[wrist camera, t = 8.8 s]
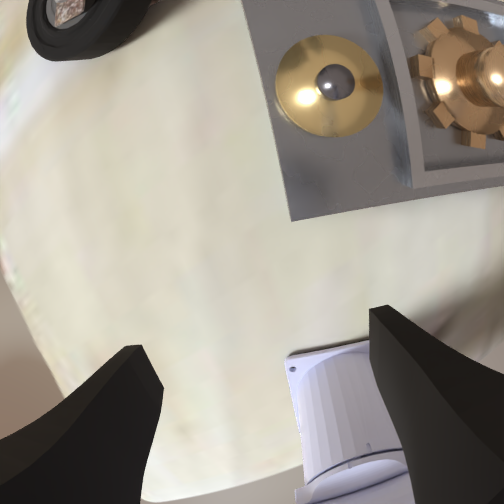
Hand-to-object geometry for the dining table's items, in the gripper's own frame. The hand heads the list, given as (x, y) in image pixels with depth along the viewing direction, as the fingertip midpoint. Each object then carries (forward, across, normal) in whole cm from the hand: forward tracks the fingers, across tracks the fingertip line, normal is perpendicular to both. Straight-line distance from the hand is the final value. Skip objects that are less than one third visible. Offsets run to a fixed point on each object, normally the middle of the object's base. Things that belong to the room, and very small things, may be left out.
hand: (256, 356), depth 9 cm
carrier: (+9, -11, -8) cm, 16 cm away
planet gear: (+8, -14, -8) cm, 18 cm away
